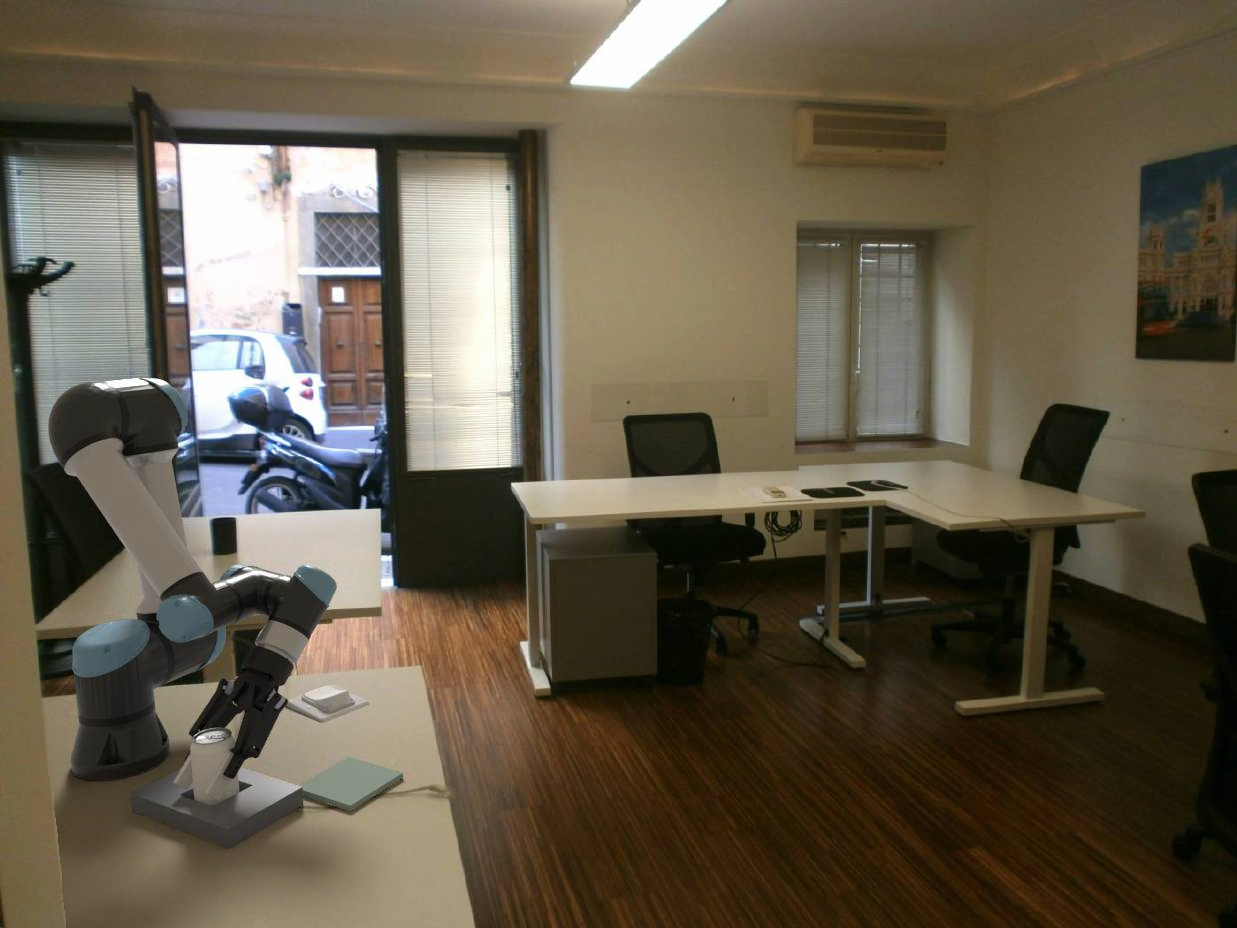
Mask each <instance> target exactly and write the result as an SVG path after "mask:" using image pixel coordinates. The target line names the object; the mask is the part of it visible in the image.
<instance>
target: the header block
mask: <svg viewBox="0 0 1237 928" xmlns="http://www.w3.org/2000/svg"><path fill="white" fill-rule="evenodd" d="M180 770H181V768H180V769H177V770H175V771H173V772H171V773H169V774H167V775H165V776H163V777H161V778H158V779H157V780H154V781H152V782H150V783H148V784H146V785H144V786H142V787H140V788H138V789H137V788H136V790H133V791H131V792H129V796H130V797H129V798H130V807H131V812H133V811H135V812H137V813H136V814H138V813H139V815H141V814H142V815H141V816H144V817H147V818H148V819H151V820H154V821H156V822H159V823H162V824H164V825H168V826H170V827H172V828H173V829H177V830H179V831H183V832H184V833H187V834H190V835H193V836H195V837H198V838H200V839H203V840H206V841H208V842H210V843H213V844H216V845H219V846H221V847H223V848H227V849H231V848H233V847H235V846H236V845H238V844H240V843H241V842H243V841H245V840H246V839H249V838H250V837H251V836H253V835H255V834H256V833H259V832H260V831H262V830H264V829H265V828H267V827H268V826H270V825H272V824H274V823H276V822H277V821H278V820H280V819H282V818H283V817H286V816H287V815H289V814H291V813H292V812H294V811H295V810H297V809H298V808H300V806H301V807H302V806H304V796H303V790H302V787H301V786H298V785H299V784H298V785H297V784H294V783H291V782H289V781H286V780H285V781H284V780H282V779H279V778H275V777H273V776H270V775H266V774H263V773H260V772H258V771H254V770H251V769H249V768H245V767H243V766H241V768H240V769H239V771H238V781H239V793H238V794H236V795H234V796H232V797H230V798H228V799H226V800H224V801H223V802H221V803H219V804H217V805H215V806H213V807H212V806H209V805H206V804H203V803H201V802H198V801H195V800H194V790H193V783H192V784H191V786H190V788H189V790H187V789H184V788H183V787H181V786H179V785H177V784H175V783H173V782H174V780H175V779H176V777H177V775H178V774H179V772H180ZM135 812H134V813H135Z"/></svg>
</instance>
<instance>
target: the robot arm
mask: <svg viewBox="0 0 1237 928" xmlns="http://www.w3.org/2000/svg"><path fill="white" fill-rule="evenodd" d="M188 418H189V416H188V409H187V407H186V403H185V401H184V399H183V397H182V395H181V394H180V393H179V391H178V390H177V389H176V388H175V387H172V385H171V384H170V383H168V382H167V381H165V380H163V379H159V378H154V377H149V378H148V377H146V378H145V377H133V378H126V379H118V380H108V381H105V380H104V381H91V382H83V383H79V384H76V385H74V386H72V387H70V388H68V389H67V390H66V391H64V392H63V393H62V394H61V395H60V396H58V398H57V399H56V401H55V403H54V404H53V406H52V407H51V411H50V413H49V418H48V423H47V425H48V427H47V428H48V429H47V430H48V431H47V432H48V438H49V439H48V440H49V442H50V446H51V450H52V452H53V454H54V456H55V458H56V460H57V462H58V463H59V464H60V466H61V467H62V468H63V470H64V472H65V473H66V474H67V475H69V476H72V477H77V479H78V480H79V482H80V483H81V485H82V486H83V487H84V489H85V491H86V492H87V493H88V495H89V496H90V499H92V501H93V502H94V504H95V505H96V507H97V508H98V509H99V511H100V512H101V514H102V516H103V517H104V518H105V520H106V521H107V523H108V524H109V526H110V527H111V528H112V530H113V531H114V533H115V534H116V536H117V537H118V539H119V541H120V542H121V543H122V544H123V546H124V548H125V549H126V550H127V552H128V554H129V555H130V556H131V558H132V560H133V561H134V563H135V564H136V566H137V571H138V578H139V582H140V588H141V594H142V601H140V603H139V605H138V606H137V607H136V609H135V612H136V618H123V619H122V618H121V619H117V620H114V621H107V622H104V623H101V624H98V625H95V626H93V627H91V628H89V629H88V630H86V631H84V632H83V633H82V634H80V635H79V636H78V637H77V638H76V639H75V641H74V644H73V647H72V663H71V669H72V671H73V675H74V683H75V684H74V685H75V686H74V687H75V694H76V695H75V696H76V704H77V705H76V706H77V713H78V728H77V731H76V736H75V740H74V743H73V748H72V752H71V756H70V767H71V768H70V769H71V772H72V774H73V775H74V776H75V777H77V778H79V779H82V780H85V781H98V780H99V781H113V780H118V779H125V778H127V777H128V778H129V777H132V776H135V775H139V774H141V773H144V772H147V771H149V770H152V769H153V768H155V767H157V766H159V765H160V764H162V763H164V762H165V760H167V759H168V757H169V756H170V753H171V743H170V737H169V734H167V731H166V729H165V726H164V725H163V723H162V721H161V718H160V717H159V715H158V712H157V710H156V702H155V689H157V688H159V687H161V686H164V685H166V684H168V683H170V682H173V681H175V680H177V679H180V678H182V677H184V676H186V675H188V674H192V673H195V672H197V671H200V670H202V669H203V668H204V667H205V666H207V665H209V664H211V663H213V662H214V661H215V660H216V659H217V658H218V657H219V656H220V654H221V653H222V651H223V650H224V648H225V647H224V646H225V644H226V637H227V628H226V627H228V626H230V625H231V626H232V625H233V624H236V623H239V622H241V621H243V620H246V619H248V618H251V617H254V616H262V617H267V618H268V619H267V620H266V622H265V624H264V625H263V627H261V630H260V632H259V633H258V635H257V637H256V638H255V640H254V646H252V647H250V649H249V650H248V653H247V654H246V656H245V658H244V659H243V660H242V663H241V668H242V670H241V673H240V674H239V675H238V676H237V677H236V678H235V679H234V680H227V679H226V678H221V679H220V680H219V681H218V684H217V688H216V690H215V692H214V693H213V695H212V697H211V698H210V699H209V701H208V703H207V704H206V705H205V707H204V708H203V710H202V712H200V714H199V716H198V717H197V719H196V720H195V722H194V723H193V725H192V726H191V728H190V730H189V731H188V735H189V736H190V737H191V738H193V736H194V735H195V734H197V733H199V732H201V731H203V730H207V729H211V728H227V726H228V725H229V724H230V723H231V722H232V721H233V719H235V717H236V716H237V715H238V714H239V715H240V714H242V713H243V712H244V713H243V716H242V721H241V723H240V727H239V730H238V734H237V735H236V736H237V737H236V740H235V746H234V748H232V749H230V751H231V752H232V753H234V755H233V754H231V753H229V752H228V753H227V754H226V756H225V758H224V759H223V761H222V763H221V765H220V766H219V768H218V770H217V772H216V773H215V775H214V777H213V779H212V781H211V782H210V784H209V786H208V788H207V789H206V791H205V793H204V794H206V795H208V796H210V797H212V798H214V799H215V800H218V801H219V800H220V799H221V797H222V795H223V793H224V791H225V790H226V788H227V786H228V784H229V782H230V781H231V779H234V778H235V777H236V775H237V773H238V771H239V769H240V768H241V767H243V764H244V762H245V761H247V760H248V759H251V758H254V759H258V758H259V757H260V755H261V753H262V751H263V749H264V747H265V745H266V742H267V740H268V739H269V736H270V734H271V732H272V731H273V727H274V726H275V724H276V722H277V720H278V718H279V715H280V714H281V712H282V711H283V709H284V708H285V707H287V706H286V705H287V703H288V700H289V699H288V698H287V697H285V696H283V695H282V694H281V693H279V688H280V687H283V686H285V684H286V682H287V681H288V679H289V677H290V676H291V674H292V672H293V671H294V669H295V667H294V663H296V662H298V661H299V659H300V657H301V655H302V654H303V652H304V650H305V648H306V646H307V644H308V643H309V641H310V639H311V638H312V637H311V636H312V634H313V633H314V631H315V630H316V628H317V626H318V624H319V623H320V621H321V620H322V618H323V616H324V614H325V613H326V612H327V610H328V609H329V608H330V603H331V601H332V600H333V598H334V595H335V593H336V591H337V588H338V584H337V582H336V580H335V579H334V578H333V577H332V576H331V575H330V574H329V573H328V572H326V571H324V570H323V569H321V568H318V567H315V566H313V565H309V564H308V565H307V564H306V565H305V564H304V565H300V566H299V567H297V569H296V571H294V572H293V575H286V574H283V573H278V572H274V571H271V570H269V569H265V568H262V567H258V566H254V565H246V564H239V563H238V564H234V565H232V566H229V567H228V569H227V570H226V571H225V572H223V573H222V574H221V576H220V578H219V580H217V581H214V582H211V580H210V579H209V578H208V576H207V575H206V574H205V573H204V572H203V570H202V569H201V567H200V566H199V565H198V563H197V562H196V560H195V558H194V557H193V556H192V554H191V552H190V551H189V549H188V544H187V540H186V539H187V538H186V534H185V529H184V522H183V518H182V517H183V516H182V512H181V506H180V501H179V495H178V489H177V485H176V484H177V483H176V479H175V473H174V467H173V462H172V461H173V459H174V456H175V455H176V454H177V452H179V450H180V449H179V443H178V439H179V438H180V437H181V436H182V435H183V434H184V432H185V431H186V428H185V427H186V426H187V425H188V422H189V421H188ZM183 761H184V763H183V765H182V767H181V768H180V769H181V770H180V772H179V774H178V775H177V777H176V779H175V780H174V782H173V783H175V784H177V785H179V786H181V787H183V788H184V789H187V790H189V788H190V786H191V784H192V783H193V778H192V766H191V753H190V750H189V751H188V753H187V755H186V756H185V758H184V760H183ZM112 779H113V780H112Z"/></svg>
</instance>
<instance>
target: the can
mask: <svg viewBox="0 0 1237 928" xmlns="http://www.w3.org/2000/svg"><path fill="white" fill-rule="evenodd" d="M191 738H192V739H191V740H192V743H191V745H190V749H189V751H190V753H191V766H192V778H193V790H194V800H195V801H198V802H201V803H203V804H206V805H209V806H212V807H213V806H215V805H217V804H219V803H221V802H223V801H224V800H226V799H228V798H230V797H232V796H234V795H236V794H238V793H239V781H238V773H237V775H236V777H235V778H234V779H231V781H230V782H229V784H228V786H227V788H226V790H225V791H224V793H223V795H222V797H221V799H220V800H219V801H218V800H215V799H214V798H212V797H210V796H208V795H206V794H204V793H205V791H206V789H207V788H208V786H209V784H210V782H211V781H212V779H213V777H214V775H215V773H216V772H217V770H218V768H219V766H220V765H221V763H222V761H223V759H224V758H225V756H226V754H227V753H228V752H229V753H231V754H233V755H234V753H232V752H231V751H230V749H232V748H234V746H235V743H236V740H235V738H234V735H233V732H232V730H231V729H229V728H227V727H225V728H211V729H207V730H203V731H201V732H199V733H197V734H195V735H194V736H193V737H191Z"/></svg>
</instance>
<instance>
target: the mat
mask: <svg viewBox="0 0 1237 928" xmlns="http://www.w3.org/2000/svg"><path fill="white" fill-rule="evenodd" d="M400 779H401V780H403V779H404V773H403V772H401V771H398V770H395V769H392V768H388V767H385V766H381V765H378V764H374V763H370V762H368V761H364V760H361V759H358V758H355V757H354V758H353V757H351V756H348V757H346V758H344V759H343V760H341V761H339V762H337V763H335V764H333V765H331V766H330V767H328V768H326V769H324V770H323V771H321V772H319V773H317V774H315V775H314V776H312V777H310V778H308V779H307V780H305V781H303V782H301V783H300V784H298V786H301V787H302V790H303V795H304V796H303V797H305V796H306V798H308V797H309V799H311V798H312V799H311V800H314V801H318V802H320V803H323V802H325V803H324V804H326V803H329V804H332V805H335V806H338V807H339V809H342V810H345V811H347V810H348V812H351V813H352V810H353V811H354V810H356V809H357V808H359V807H361V806H362V805H364V804H365V803H367V802H368V801H370V800H371V799H372V798H371V797H372V796H373V795H375V794H377V793H379V792H381V793H383V792H384V791H386V790H387V789H389V788H390V787H392V786H393V784H394V783H395V784H396V782H397V781H398V782H400V781H401V780H400ZM399 780H400V781H399ZM398 782H397V783H398ZM395 784H394V785H395ZM388 787H389V788H388ZM386 788H387V789H386ZM385 789H386V790H385ZM383 790H384V791H383ZM382 791H383V792H382ZM379 794H380V793H379ZM370 798H371V799H370ZM369 799H370V800H369ZM367 800H368V801H367ZM366 801H367V802H366ZM364 802H365V803H364ZM363 803H364V804H363ZM329 804H328V805H329ZM332 805H331V806H332ZM335 806H334V807H335ZM338 807H337V808H338Z"/></svg>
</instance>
